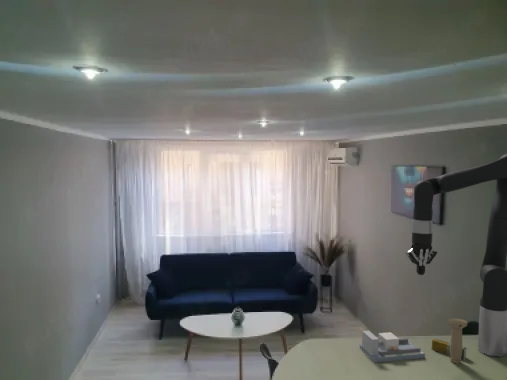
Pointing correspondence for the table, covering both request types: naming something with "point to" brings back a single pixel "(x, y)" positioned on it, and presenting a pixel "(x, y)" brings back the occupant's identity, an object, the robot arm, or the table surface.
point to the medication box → (445, 347)
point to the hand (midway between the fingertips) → (420, 274)
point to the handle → (456, 339)
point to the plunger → (388, 341)
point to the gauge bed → (380, 355)
